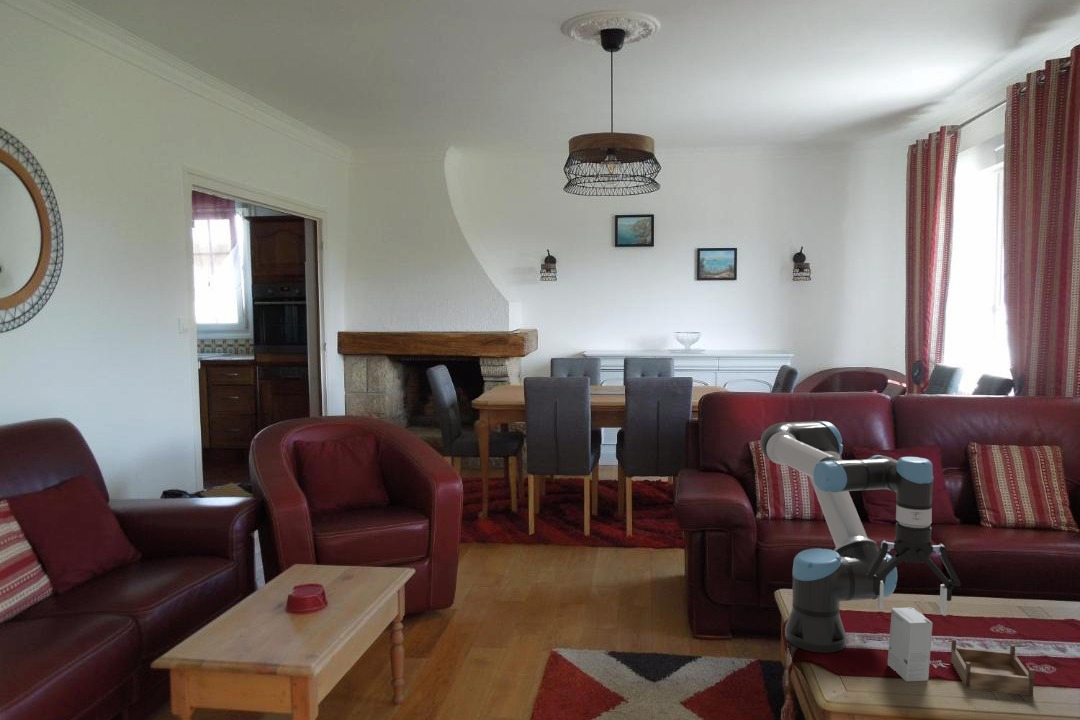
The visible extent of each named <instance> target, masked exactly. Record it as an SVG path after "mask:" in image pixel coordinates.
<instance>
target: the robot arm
mask: <svg viewBox="0 0 1080 720" xmlns="http://www.w3.org/2000/svg"><path fill="white" fill-rule="evenodd" d="M759 443H760V444H759V445H760V451H761V452H762V454H763V456H764V457H765V458H766V459H768V460H769V461H771V462H772V463H774V464H776V465H786V466H788V467H790V468H792V469H794V470H796V471H798V472H800V473H801V474H804V475H805V476H807V477H809V479H810V482H811V485H812V487H813V490H814V492H815V494H816V497H817V500H818V503H819V505H820V509H821V511H822V514H823V516H824V519H825V521H826V524H827V526H828V530H829V532H830V535H831V537H832V540H833V542H834V545H835V548H834V549H833V550H832V549H829V548H820V547H817V548H816V547H815V548H809V549H804V550H802V551H800V552H798V553H797V554H796V555H795V557H794V558H793V564H792V565H793V566H792V570H791V572H792V574H791V575H792V605H791V606H792V608H791V611H790V614H789V616H788V619H787V622H786V624H785V628H784V636H785V640H787V642H789V643H790V644H791V645H793V646H795V647H796V648H798V649H802V650H804V651H808V652H812V653H819V654H820V653H821V654H825V653H826V654H827V653H830V654H831V653H836V651H837V652H840V651H841V650H843V649H845V647H846V646H847V634H846V630H845V628H844V625H843V622H842V619H841V615H840V603H841V602H851V601H864V600H877V608H878V609H879V611H884V598H888V597H890V596H891V595H892V594H893V593H894V591H895V590H896V587H897V582H898V569H897V566H898V565H900V564H902V563H903V562H905V563H906V564H911V563H912V564H913V563H914V564H918V565H919V564H922V563H925V564H926V565H927V566H928V567H929V568H930V569H931V571H933V572H934V574H935V575H936V576H937V577H938V578H939V580H940V581H941V582H942V584H940V586H939V587H940V588H939V589H940V590H939V591H940V592H939V593H940V594H939V612H940V613H941V616H944V617H947V604H948V603H947V602H951V601H952V598H953V597H952V592H953V590H954V587H960V586H961V585H962V583H961V581H960V578H959V577H958V575H957V572H956V571H955V569H954V567H953V565H952V563H951V561H950V559H949V557H948V554H947V553H948V552H947V547H945V545H944V544H943V543H939V544H938V545H937V544H936V545H934V544H932V526H931V524H932V522H933V521H932V520H933V519H932V517H933V516H932V514H933V513H932V512H933V511H932V510H933V508H932V507H933V506H932V505H933V489H934V485H933V484H934V479H935V478H934V475H933V474H934V471H933V463H932V461H931V460H930V459H928V458H924V457H918V456H902V457H899V458H898V460H897V459H894V458H893V457H890V456H886V455H880V454H876V455H871V456H870V457H869V458H865V459H841V455H842V453H843V450H844V449H843V448H844V445H843V444H842V443H843V438H842V435H841V433H840V431H839V429H838V428H837V427H836V426H835V425H834V424H833V423H831V422H829V421H826V420H825V421H824V420H823V421H821V420H811V421H793V422H792V421H791V422H790V421H789V422H785V421H784V422H783V421H781V422H778V423H774V424H772V425H770V426H768V427H767V428H766V429H765V430H764V432H763V433H762V434H761V437H760V442H759ZM872 490H873V491H875V490H889V491H890V492H893V493H896V499H895V500H896V502H895V504H896V505H895V507H896V508H895V509H896V510H895V520H896V521H897V522H896V523H895V539H894V542H888V541H886V540H885V539H883V540H881V541H880V545H879V547H878V545H877V541H875V540H873V539H870V538H869V537H868V536H867V533H866V530H865V528H864V525H863V523H862V521H861V518H860V516H859V514H858V511H857V508H856V506H855V504H854V502H853V499H852V497H851V495H850V492H853V491H855V492H856V491H872ZM892 549H894V551H895V553H894V554H893V555H890V554H889V553H888V552H891V550H892ZM933 552H935V554H937V555H938V556H939V557H940V559H941V561H942V563H943V565H944V567H945V568H946V571H947V573H948V575H949V576H950V578H951V579H948V578H947V577H946V576H945V574H944V573H943V572H942V571H941V569H939V567H937V565H936V563H934V562H933V560H931V558H930V555H932V553H933Z"/></svg>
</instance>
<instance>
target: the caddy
mask: <svg viewBox="0 0 1080 720" xmlns="http://www.w3.org/2000/svg"><path fill="white" fill-rule="evenodd" d="M950 644H951V648H950V650H951V651H950V663H951V665H952V664H953V665H952V666H954V667H955V668H954V667H953V668H954V670H955V669H956V670H955V671H957V672H956V673H958V674H959V675H958V674H957V675H958V677H959V676H960V677H959V679H960V678H961V679H960V681H961V680H962V681H961V682H962V684H963V686H964V688H965V689H968V690H978V691H985V692H995V693H1004V694H1014V695H1022V696H1030V697H1031V696H1032V697H1033V696H1034V681H1035V680H1034V679H1035V670H1034V669H1033V668H1028V669H1027V668H1026V667H1025V665H1024V664H1023V663H1022V662H1021V660H1020V659H1019V658H1018V657H1017V655H1016V645H1015V644H1013V643H1012V644H1010V645H1009V646H1010V648H1009V651H1003V650H1002V651H1000V650H991V649H990V650H988V649H981V648H972V647H971V648H969V647H961V646H957V640H956V638H951V643H950Z"/></svg>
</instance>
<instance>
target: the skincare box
mask: <svg viewBox="0 0 1080 720" xmlns="http://www.w3.org/2000/svg"><path fill="white" fill-rule="evenodd" d="M932 633H933V622H932V620H930V619H928V618H927V617H925V615H924V614H923V613H921V612H919V611H918V610H916V608H914V607H891V615H890V627H889V639H888V640H889V641H888V653H887V654H888V655H887V666H888V667H889V666H890V668H891V669H892V671H894V672H895V671H896V672H895V673H897V674H898V675H899V676H900V677H901V678H902V679H903V680H904V681H905V682H924V681H925V682H926V681H927V682H928V681H929V675H930V673H929V672H930V660H931V651H932V650H931V649H932V637H933V636H932Z"/></svg>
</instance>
